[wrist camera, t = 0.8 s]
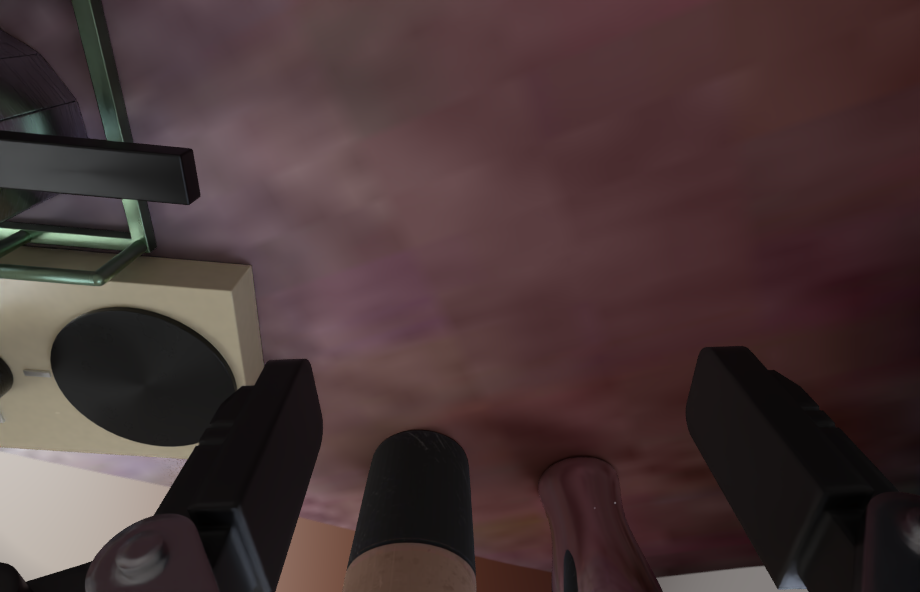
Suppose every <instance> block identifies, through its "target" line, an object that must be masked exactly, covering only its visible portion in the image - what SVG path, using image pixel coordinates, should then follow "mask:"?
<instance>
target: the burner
mask: <svg viewBox="0 0 920 592" xmlns="http://www.w3.org/2000/svg"><path fill="white" fill-rule="evenodd" d="M50 362H51V369H52V373H53V376H54V379H55V381H56V383H57V385H58V387H59V389H60V390H61V392H62V393H63V395H64V396H65V397H66V399H67V400H68V401H69V402H70V403H71V404H72V405H73V406H74V407H75V408H76V409H77V410H78V411H79V412H80V413H81V414H82V415H84V416H85V417H86V418H87V419H89V420H90V421H92V422H93V423H95V424H96V425H98V426H99V427H101V428H103V429H105V430H107V431H108V432H111V433H113V434H115V435H117V436H120V437H122V438H125V439H128V440H131V441H134V442H138V443H142V444H147V445H153V446H162V447H178V446H187V445H192V444H196V443H199V440H200V438H201V436H202V435H203V433H204V431H205V430H206V428H209V423H210V421H211V420H212V418H213V416H214V415H215V413H216V411H217V410H218V408H219V407H220V405H221V403H223V402H224V401H225V400H226V399H227V398H228V397H230V396H231V395H232V394H233V393H234V392H235V391H237V385H236V381H235V377H234V375H233V373H232V370H231V368H230V367H229V365H228V363H227V361H226V360H225V359H224V357H223V356H222V355H221V353H220V352H219V351H218V350H217V349H216V348H215V347H214V346H213V345H212V344H211V343H210V342H209V341H208V340H207V339H205V338H204V337H203V336H202V335H200V334H199V333H197V332H196V331H194V330H193V329H192V328H190V327H188V326H186V325H184V324H183V323H181V322H179V321H177V320H174V319H172V318H170V317H168V316H165V315H162V314H159V313H156V312H152V311H148V310H143V309H137V308H130V307H110V308H102V309H97V310H93V311H90V312H87V313H84V314H82V315H80V316H78V317H77V318H75V319H73V320H72V321H71V322H70V323H68V324H67V325H66V326H65V327H64V328H62V330H61V331H60V332H59V333H58V335H57V336H56V338H55V340H54V342H53V345H52V349H51V356H50Z"/></svg>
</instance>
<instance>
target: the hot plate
mask: <svg viewBox="0 0 920 592" xmlns="http://www.w3.org/2000/svg"><path fill="white" fill-rule="evenodd" d="M116 255H117V254H112V253H100V252H88V251H76V250H65V249H53V248H41V247H29V246H21V247H19V248H18V249H16V250H14V251H12V252H11V253H9V254H7V255H5V256H3V257H2V258H0V264H12V265H24V266H36V267H48V268H61V269H73V270H85V271H96V270H97V269H99V268H100V267H101V266H103V265H104V264H105V263H107V262H108V261H109V260H111V259H112V258H113V257H115V256H116ZM110 307H130V308H137V309H143V310H148V311H152V312H156V313H159V314H162V315H165V316H168V317H170V318H172V319H174V320H177V321H179V322H181V323H183V324H184V325H186V326H188V327H190V328H192V329H193V330H194V331H196V332H197V333H199V334H200V335H202V336H203V337H204V338H205V339H207V340H208V341H209V342H210V343H211V344H212V345H213V346H214V347H215V348H216V349H217V350H218V351H219V352H220V353H221V355H222V356H223V357H224V359H225V360H226V361H227V363H228V365H229V367H230V368H231V370H232V373H233V375H234V377H235V381H236V385H237V390H238V389H239V388H240V387H241V386H251V385H255V383H256V381H257V379H258V377H259V375H260V374H261V372H262V370H263V368H264V362H263V354H262V346H261V338H260V330H259V322H258V314H257V306H256V298H255V290H254V282H253V274H252V266H251V265H242V264H230V263H218V262H206V261H195V260H183V259H171V258H159V257H147V256H139V257H138V258H137V259H135V260H134V261H133V262H132V263H131V264H129V265H128V266H127V267H126V268H124V269H123V270H122V271H121V272H119V273H118V274H117V275H116V276H114V277H113V278H112V279H111V280H109V281H108V282H107V283H106V284H104V285H103V286H87V285H75V284H62V283H50V282H38V281H25V280H13V279H1V278H0V358H1V359H3V360H4V361H5V363H6V364H7V365H8V366H9V368H10V370H11V372H12V374H13V385H12V387H11V389H10V390H9V391H8V392H7V393H6V394H5V395H4V396H2V397H1V398H0V447H4V448H20V449H36V450H52V451H67V452H83V453H99V454H115V455H130V456H146V457H162V458H178V459H188V458H189V456H190V455H191V453H192V451H193V450H194V448H195V446H198V445H199V443H196V444H192V445H187V446H178V447H162V446H153V445H147V444H142V443H138V442H134V441H131V440H128V439H125V438H122V437H120V436H117V435H115V434H113V433H111V432H108V431H107V430H105V429H103V428H101V427H99V426H98V425H96V424H95V423H93V422H92V421H90V420H89V419H87V418H86V417H85V416H84V415H82V414H81V413H80V412H79V411H78V410H77V409H76V408H75V407H74V406H73V405H72V404H71V403H70V402H69V401H68V400H67V399H66V397H65V396H64V395H63V393H62V392H61V390H60V389H59V387H58V385H57V383H56V381H55V379H54V376H53V373H52V369H51V362H50V356H51V349H52V345H53V342H54V340H55V338H56V336H57V335H58V333H59V332H60V331H61V330H62V328H64V327H65V326H66V325H67V324H68V323H70V322H71V321H72V320H73V319H75V318H77V317H78V316H80V315H82V314H84V313H87V312H90V311H93V310H97V309H102V308H110Z"/></svg>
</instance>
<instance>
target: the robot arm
mask: <svg viewBox="0 0 920 592" xmlns="http://www.w3.org/2000/svg"><path fill="white" fill-rule="evenodd" d="M686 421H687V426H688V430H689V432H690V435H691V437H692V439H693V440H694V442H695V444H696V446H697V447H698V449H699V451H700V453H701V455H702V456H703V458H704V460H705V462H706V463H707V465H708V467H709V469H710V470H711V472H712V474H713V476H714V477H715V479H716V481H717V483H718V485H719V486H720V488H721V490H722V492H723V493H724V495H725V497H726V499H727V500H728V502H729V504H730V506H731V507H732V509H733V511H734V513H735V514H736V516H737V518H738V520H739V522H740V523H741V525H742V527H743V529H744V530H745V532H746V534H747V536H748V537H749V539H750V541H751V543H752V544H753V546H754V548H755V550H756V552H757V553H758V555H759V557H760V559H761V560H762V562H763V564H764V566H765V567H766V569H767V571H768V572H769V574H770V576H771V578H772V580H773V581H774V583H775V585H776V587H777V589H807V590H808V591H809V592H920V496H917V495H913V494H909V493H903V492H899V491H898V490H897V489H896V488H895V487H894V486H893V484H892V483H891V482H890V481H889V480H888V479H887V478H886V477H885V476H884V475H883V474H882V473H881V472H880V471H879V470H878V468H877V467H876V466H875V465H874V464H873V463H872V462H871V461H870V460H869V459H868V458H867V457H866V456H865V455H864V454H863V453H862V451H861V450H860V449H859V448H858V447H857V446H856V445H855V444H854V443H853V442H852V441H851V440H850V439H849V438H848V437H847V436H846V434H845V433H844V432H843V431H842V430H841V429H840V428H836V427H835V423H834V422H833V421H832V420H831V418H830V417H829V416H828V415H827V414H826V413H825V412H824V411H820V410H819V406H818V405H817V404H816V403H815V401H814V400H813V399H812V398H811V397H810V396H809V395H808V394H807V393H806V392H805V391H804V390H803V389H802V388H801V387H800V386H799V385H797V384H796V383H794V382H792V381H791V380H789V379H788V378H786V377H784V376H783V375H781V374H780V373H778V372H776V371H775V370H767V369H766V368H765V366H764V365H763V364H762V363H761V362H760V361H759V360H758V359H757V357H756V356H755V355H754V354H753V353H752V352H751V351H750V350H749V349H748V348H747V347H744V346H728V347H705V348H703V349H702V350H701V351H700V353H699V356H698V359H697V363H696V367H695V371H694V376H693V380H692V384H691V388H690V392H689V396H688V400H687V404H686ZM322 434H323V420H322V413H321V409H320V404H319V399H318V395H317V390H316V386H315V381H314V377H313V372H312V368H311V364H310V362H309V361H308V360H307V359H287V360H269V361H268V362H267V363H266V365H265V366H264V368H263V370H262V372H261V374H260V375H259V377H258V379H257V381H256V383H255V385H251V386H241V387H240V388H239V389H238V390H237V391H235V392H234V393H233V394H232V395H231V396H230V397H228V398H227V399H226V400H225V401H224V402H223V403H221V405H220V407H219V408H218V410H217V411H216V413H215V415H214V416H213V418H212V420H211V421H210V423H209V428H206V430H205V431H204V433H203V435H202V436H201V438H200V440H199V445H198V446H195V448H194V450H193V451H192V453H191V455H190V456H189V458H188V460H187V461H186V463H185V465H184V466H183V468H182V470H181V471H180V473H179V475H178V476H177V478H176V480H175V481H174V483H173V485H172V486H171V488H170V490H169V491H168V493H167V494H166V496H165V498H164V499H163V501H162V503H161V504H160V506H159V508H158V509H157V511H156V513H155V514H154V516H152V517H148V518H145V519H143V520H141V521H138V522H136V523H134V524H132V525H131V526H129V527H127V528H125V529H124V530H123V531H121V532H120V533H118V534H117V535H116V536H114V537H113V538H112V539H111V540H110V541H109V542H108V543H107V544H106V545H105V546H104V547H103V548H102V549H101V550H100V551H99V552H98V554H97V555H96V556H95V558H94V560H93V561H91V562H88V563H86V564H82V565H80V566H76V567H73V568H69V569H66V570H63V571H60V572H57V573H53V574H50V575H47V576H44V577H40V578H37V579H34V580H30V581H27V582H25V581H24V579H23V578H22V577H21V576H20V574H19V573H18V571H17V570H16V569H15V568H14V567H13V566H11V565H9V564H6V563H1V562H0V592H275V591H276V587H277V584H278V581H279V578H280V575H281V572H282V568H283V565H284V562H285V559H286V555H287V552H288V549H289V546H290V543H291V539H292V536H293V533H294V530H295V527H296V523H297V520H298V517H299V514H300V511H301V507H302V504H303V501H304V498H305V494H306V491H307V488H308V485H309V482H310V478H311V475H312V472H313V469H314V466H315V462H316V459H317V456H318V453H319V449H320V446H321V442H322Z"/></svg>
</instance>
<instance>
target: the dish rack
mask: <svg viewBox="0 0 920 592" xmlns="http://www.w3.org/2000/svg"><path fill="white" fill-rule="evenodd" d="M71 1H72V5H73V9H74V13H75V17H76V21H77V25H78V29H79V33H80V36H81V40H82V44H83V48H84V52H85V56H86V60H87V64H88V68H89V72H90V76H91V80H92V84H93V88H94V92H95V96H96V100H97V104H98V107H99V111H100V115H101V119H102V123H103V127H104V131H105V135H106V139H107V140H108V141H118V142H128V143H133V139H132V135H131V130H130V126H129V122H128V117H127V113H126V108H125V104H124V100H123V95H122V91H121V86H120V82H119V78H118V73H117V69H116V65H115V60H114V56H113V51H112V47H111V43H110V38H109V34H108V29H107V25H106V21H105V16H104V12H103V7H102V3H101V0H71ZM122 202H123V206H124V210H125V214H126V218H127V222H128V226H129V230H130V232H121V231H109V230H98V229H86V228H75V227H63V226H52V225H40V224H29V223H17V222H6V221H3V222H1V223H0V258H2V257H3V256H5V255H7V254H9V253H11V252H12V251H14V250H16V249H18V248H19V247H21V246H23V245H25V244H27V243H38V244H50V245H61V246H73V247H85V248H97V249H108V250H120V251H121V252H120V253H119V254H117V255H116V256H115V257H113V258H112V259H111V260H109V261H108V262H107V263H105V264H104V265H103V266H101V267H100V268H99V269H97V270H96V271H85V270H73V269H61V268H48V267H36V266H24V265H12V264H0V278H1V279H13V280H25V281H38V282H50V283H62V284H75V285H87V286H103V285H104V284H106V283H107V282H108V281H109V280H111V279H112V278H113V277H114V276H116V275H117V274H118V273H119V272H121V271H122V270H123V269H124V268H126V267H127V266H128V265H129V264H131V263H132V262H133V261H134V260H135V259H137V258H138V257H139V256H140V255H142V254H143V253H150V252H152V251H153V250H154V249H155V248H157V245H156V240H155V236H154V231H153V227H152V223H151V218H150V214H149V209H148V205H147V201H139V200H128V199H122Z"/></svg>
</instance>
